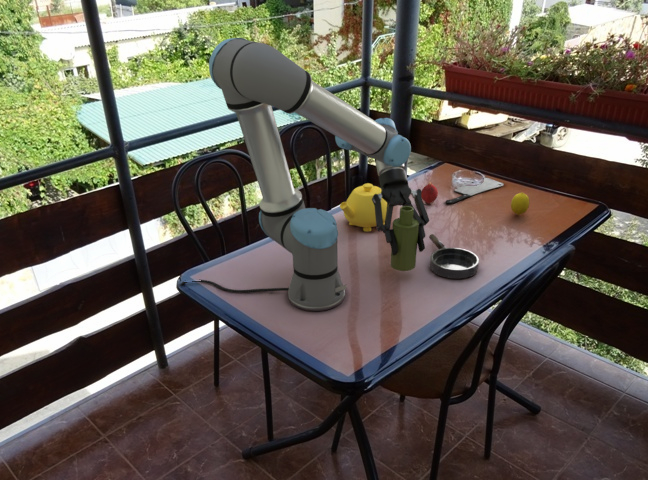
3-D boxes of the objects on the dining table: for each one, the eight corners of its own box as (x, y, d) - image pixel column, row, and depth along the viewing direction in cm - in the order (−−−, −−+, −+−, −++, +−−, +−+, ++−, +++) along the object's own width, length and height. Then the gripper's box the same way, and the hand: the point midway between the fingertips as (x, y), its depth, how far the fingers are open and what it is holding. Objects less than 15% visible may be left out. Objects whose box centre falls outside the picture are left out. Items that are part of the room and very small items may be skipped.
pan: (440, 283, 153) (441, 272, 151) (422, 260, 164) (423, 251, 162) (485, 276, 154) (487, 266, 153) (464, 254, 165) (466, 245, 164)
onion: (438, 206, 195) (440, 184, 191) (422, 207, 196) (423, 185, 191) (435, 200, 200) (436, 178, 196) (418, 200, 200) (420, 179, 196)
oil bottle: (395, 272, 152) (398, 215, 143) (387, 261, 158) (390, 205, 149) (419, 269, 153) (424, 212, 144) (410, 258, 159) (414, 202, 149)
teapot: (357, 242, 176) (358, 202, 168) (324, 227, 186) (323, 189, 179) (400, 223, 186) (402, 184, 178) (366, 210, 196) (367, 172, 189)
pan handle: (441, 253, 164) (442, 248, 163) (428, 238, 172) (428, 233, 171) (447, 252, 164) (447, 247, 163) (433, 238, 172) (434, 232, 171)
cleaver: (430, 197, 202) (451, 205, 195) (430, 195, 202) (451, 204, 195) (484, 178, 215) (506, 185, 208) (485, 176, 215) (506, 183, 207)
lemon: (528, 213, 186) (532, 190, 182) (524, 219, 182) (529, 197, 178) (511, 210, 189) (515, 188, 185) (507, 216, 185) (511, 194, 181)
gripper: (421, 175, 159) (438, 251, 154) (354, 183, 156) (370, 260, 152) (430, 163, 152) (448, 242, 147) (360, 171, 149) (376, 252, 144)
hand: (408, 251), depth 149 cm, fingers closed on oil bottle, 7 cm apart
